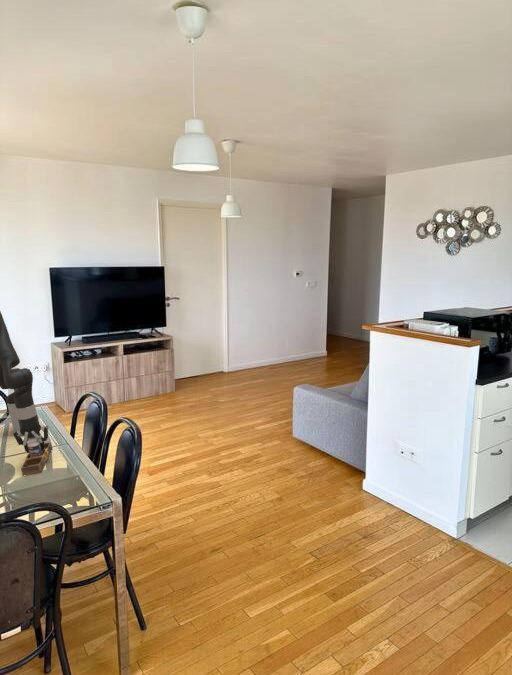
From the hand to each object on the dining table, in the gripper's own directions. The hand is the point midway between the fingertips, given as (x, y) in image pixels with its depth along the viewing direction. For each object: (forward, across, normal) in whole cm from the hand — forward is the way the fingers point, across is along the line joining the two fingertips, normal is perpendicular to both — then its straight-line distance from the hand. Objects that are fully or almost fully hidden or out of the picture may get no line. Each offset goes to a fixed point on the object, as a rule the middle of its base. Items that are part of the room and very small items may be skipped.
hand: (35, 450), depth 201 cm
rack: (+5, 0, 0) cm, 5 cm away
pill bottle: (+3, 0, 0) cm, 3 cm away
